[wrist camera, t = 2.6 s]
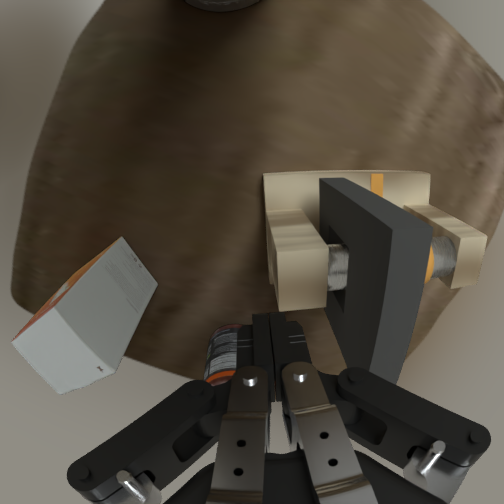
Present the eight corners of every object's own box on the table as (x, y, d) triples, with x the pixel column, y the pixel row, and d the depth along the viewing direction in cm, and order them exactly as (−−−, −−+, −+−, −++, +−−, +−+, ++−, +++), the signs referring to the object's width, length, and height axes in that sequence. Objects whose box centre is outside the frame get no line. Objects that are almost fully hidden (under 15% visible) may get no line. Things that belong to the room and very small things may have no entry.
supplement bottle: (264, 359, 34) (271, 439, 23) (214, 362, 34) (206, 442, 23) (260, 318, 31) (267, 401, 21) (204, 323, 31) (191, 405, 21)
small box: (122, 233, 27) (53, 305, 15) (160, 284, 29) (118, 375, 17) (74, 271, 29) (8, 343, 17) (109, 314, 31) (61, 397, 19)
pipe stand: (262, 173, 25) (275, 201, 15) (422, 171, 25) (495, 197, 15) (268, 276, 29) (280, 350, 19) (413, 263, 29) (469, 317, 19)
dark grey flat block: (318, 178, 22) (392, 229, 10) (343, 177, 22) (433, 227, 10) (318, 294, 26) (360, 402, 14) (339, 291, 26) (392, 395, 14)
